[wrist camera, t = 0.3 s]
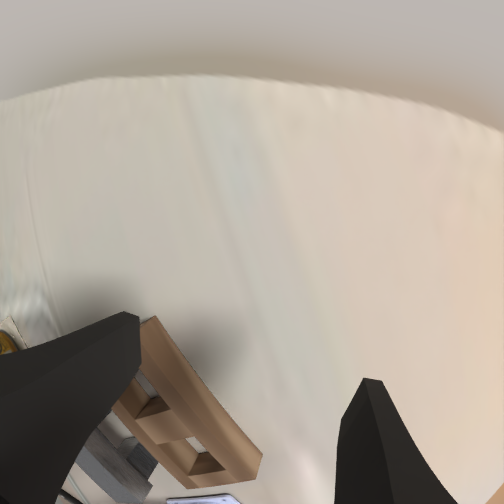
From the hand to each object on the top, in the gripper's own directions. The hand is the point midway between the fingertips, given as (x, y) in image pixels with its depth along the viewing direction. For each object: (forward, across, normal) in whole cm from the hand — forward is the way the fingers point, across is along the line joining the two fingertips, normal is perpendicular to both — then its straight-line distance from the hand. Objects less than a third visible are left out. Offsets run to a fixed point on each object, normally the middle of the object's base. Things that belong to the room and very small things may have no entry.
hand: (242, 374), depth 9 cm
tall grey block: (+8, +12, +20) cm, 24 cm away
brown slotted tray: (+9, +6, +14) cm, 18 cm away
